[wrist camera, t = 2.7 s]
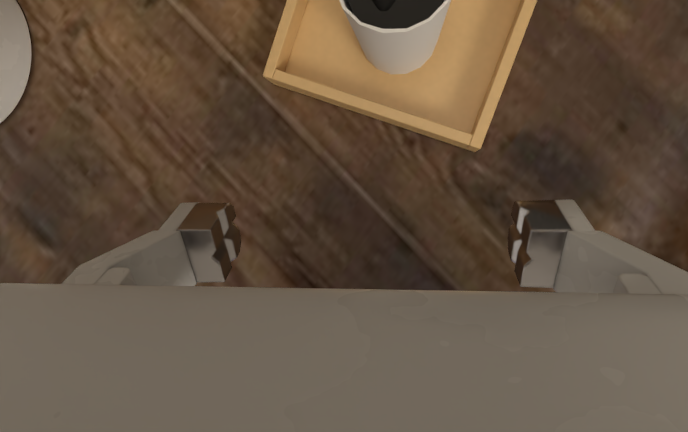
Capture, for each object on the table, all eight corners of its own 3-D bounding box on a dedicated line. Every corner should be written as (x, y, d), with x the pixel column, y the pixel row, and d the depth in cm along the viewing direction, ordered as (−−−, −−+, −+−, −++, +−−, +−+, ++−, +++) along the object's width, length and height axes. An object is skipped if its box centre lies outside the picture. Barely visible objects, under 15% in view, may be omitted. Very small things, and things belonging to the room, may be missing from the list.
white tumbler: (386, 98, 33) (376, 59, 23) (337, 26, 33) (308, -43, 23) (462, 45, 32) (486, -20, 22) (411, -29, 32) (413, -126, 22)
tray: (272, 83, 35) (262, 75, 32) (324, -77, 33) (317, -98, 31) (474, 152, 33) (480, 149, 30) (538, -16, 31) (549, -33, 29)
